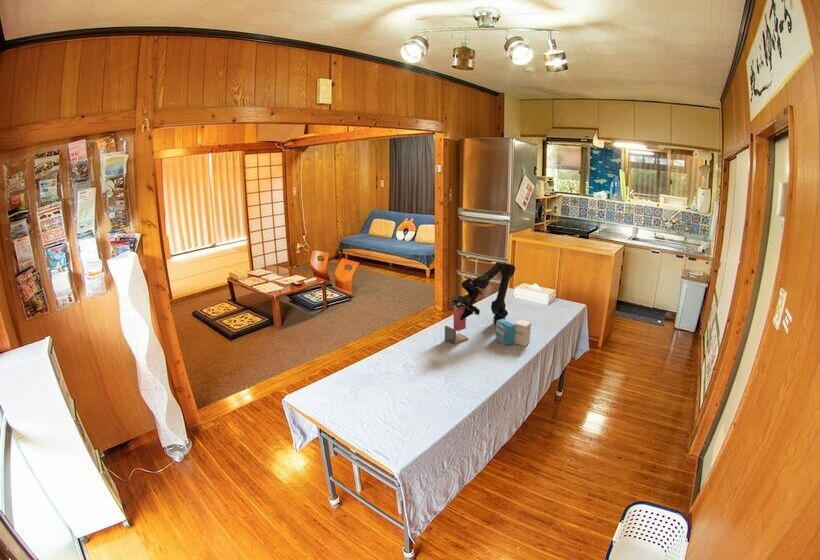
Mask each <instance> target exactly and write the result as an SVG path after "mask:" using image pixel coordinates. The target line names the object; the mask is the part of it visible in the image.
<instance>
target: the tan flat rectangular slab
mask: <svg viewBox="0 0 820 560" xmlns="http://www.w3.org/2000/svg"><path fill="white" fill-rule="evenodd" d="M468 340H469V337H468V336H466V335H463V334H461V333H456V345H458V344H460V343H463V342H466V341H468Z"/></svg>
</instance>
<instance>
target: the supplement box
mask: <svg viewBox="0 0 820 560" xmlns="http://www.w3.org/2000/svg"><path fill="white" fill-rule="evenodd" d="M513 325H514V326H515V339H514V344H516V345H520V346H523V347H526V346H527V345H528V344H529V343H530V340H531V339H530V337H531V329H532V321H527V320H523V319H518V320H517V321H516V322H515V323H514V324H513Z"/></svg>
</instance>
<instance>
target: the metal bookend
mask: <svg viewBox="0 0 820 560" xmlns="http://www.w3.org/2000/svg"><path fill="white" fill-rule="evenodd" d="M456 334H457V330H455V329H453V328H452V327H450V326H448V325H444V341H445V342H447V343H448V344H450V345H453V346H455V345H457V344H456Z"/></svg>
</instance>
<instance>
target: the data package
mask: <svg viewBox="0 0 820 560" xmlns="http://www.w3.org/2000/svg"><path fill="white" fill-rule="evenodd" d="M495 339H496V340H498V341H500V342H501V343H502V344H504V345H505V346H509V345H513V344H515V343H514V339H515V326H514V324H513V323H512V322H510V321H508V320H507V319H506V318H505V319H501V320H497V321H496V325H495Z"/></svg>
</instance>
